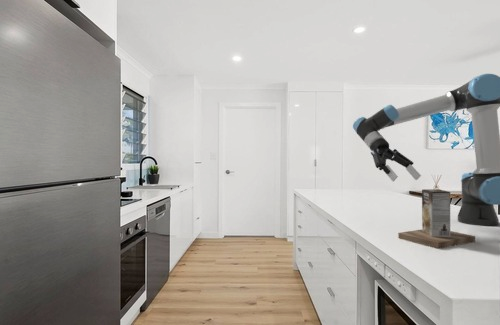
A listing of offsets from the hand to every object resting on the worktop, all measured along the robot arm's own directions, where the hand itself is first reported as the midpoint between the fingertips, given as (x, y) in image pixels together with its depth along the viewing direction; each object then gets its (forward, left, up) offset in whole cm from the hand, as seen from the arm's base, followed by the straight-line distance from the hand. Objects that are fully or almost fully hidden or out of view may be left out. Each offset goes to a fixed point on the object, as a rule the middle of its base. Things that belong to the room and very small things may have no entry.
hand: (407, 178), depth 118 cm
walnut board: (+1, +12, -22) cm, 25 cm away
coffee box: (+1, +12, -20) cm, 23 cm away
